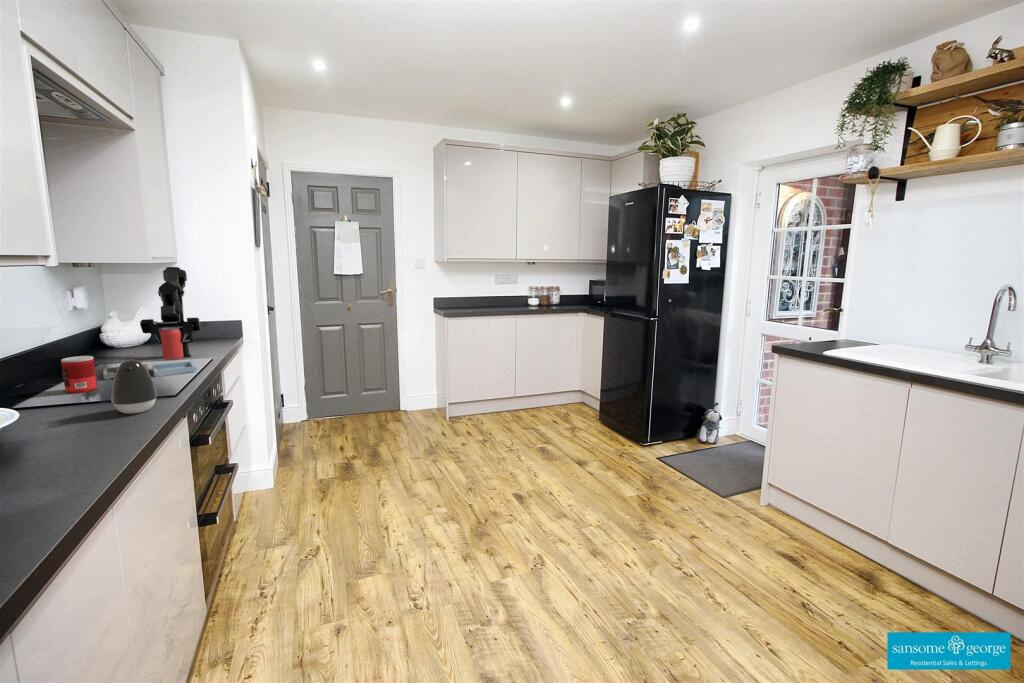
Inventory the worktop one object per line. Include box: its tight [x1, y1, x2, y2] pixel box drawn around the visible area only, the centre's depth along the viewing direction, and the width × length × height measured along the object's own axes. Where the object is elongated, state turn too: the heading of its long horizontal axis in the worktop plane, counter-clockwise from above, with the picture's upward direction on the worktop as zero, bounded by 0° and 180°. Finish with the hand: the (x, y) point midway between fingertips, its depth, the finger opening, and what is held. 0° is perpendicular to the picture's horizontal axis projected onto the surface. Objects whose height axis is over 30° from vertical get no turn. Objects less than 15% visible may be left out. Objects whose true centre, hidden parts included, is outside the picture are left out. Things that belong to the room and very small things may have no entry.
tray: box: [151, 361, 198, 378], centre depth 185 cm, size 13×13×2 cm
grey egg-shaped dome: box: [111, 359, 158, 415], centre depth 136 cm, size 10×10×15 cm
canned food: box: [60, 355, 98, 394], centre depth 157 cm, size 8×8×11 cm
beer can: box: [160, 327, 184, 361], centre depth 184 cm, size 7×7×12 cm
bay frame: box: [102, 363, 150, 380], centre depth 180 cm, size 13×13×2 cm
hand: (171, 342), depth 183 cm, fingers closed on beer can, 7 cm apart
